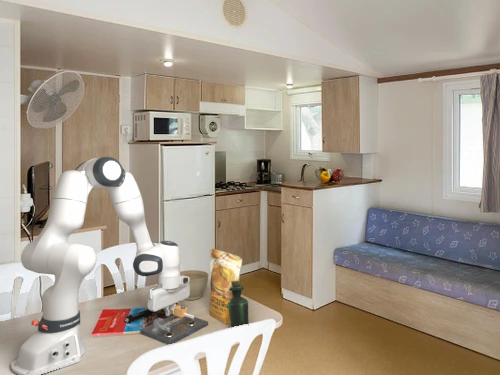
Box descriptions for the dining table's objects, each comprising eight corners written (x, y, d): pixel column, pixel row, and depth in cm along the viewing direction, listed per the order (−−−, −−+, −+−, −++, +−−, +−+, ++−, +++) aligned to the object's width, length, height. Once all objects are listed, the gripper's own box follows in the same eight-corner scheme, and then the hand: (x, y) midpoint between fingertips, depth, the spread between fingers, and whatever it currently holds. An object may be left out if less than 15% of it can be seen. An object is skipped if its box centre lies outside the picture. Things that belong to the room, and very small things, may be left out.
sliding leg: (191, 323, 162) (191, 310, 161) (169, 316, 169) (169, 303, 168) (196, 321, 164) (196, 308, 164) (175, 313, 171) (175, 301, 171)
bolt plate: (169, 345, 148) (169, 329, 147) (140, 333, 157) (139, 318, 156) (208, 325, 165) (208, 310, 164) (179, 315, 174) (179, 302, 174)
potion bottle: (252, 325, 163) (248, 279, 166) (247, 329, 155) (242, 280, 158) (233, 326, 165) (229, 280, 168) (226, 330, 157) (222, 282, 160)
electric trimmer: (160, 314, 177) (160, 307, 176) (128, 325, 165) (128, 317, 165) (155, 312, 179) (155, 304, 179) (123, 322, 168) (123, 315, 167)
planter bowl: (215, 297, 196) (215, 275, 195) (187, 306, 185) (186, 282, 184) (195, 288, 207) (195, 267, 206) (167, 296, 196) (167, 274, 195)
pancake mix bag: (216, 308, 182) (216, 246, 179) (243, 323, 168) (244, 255, 165) (203, 312, 178) (203, 249, 175) (230, 327, 163) (230, 258, 160)
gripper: (154, 290, 154) (155, 325, 156) (192, 276, 171) (192, 308, 172) (143, 287, 158) (144, 321, 159) (181, 273, 174) (181, 305, 176)
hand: (169, 314), depth 166 cm, fingers closed
